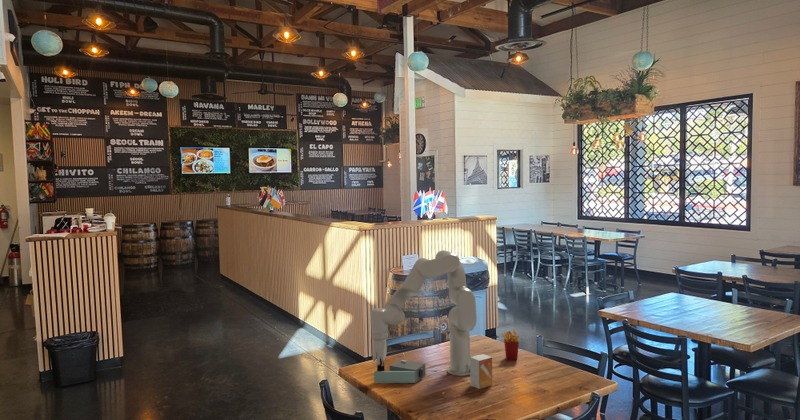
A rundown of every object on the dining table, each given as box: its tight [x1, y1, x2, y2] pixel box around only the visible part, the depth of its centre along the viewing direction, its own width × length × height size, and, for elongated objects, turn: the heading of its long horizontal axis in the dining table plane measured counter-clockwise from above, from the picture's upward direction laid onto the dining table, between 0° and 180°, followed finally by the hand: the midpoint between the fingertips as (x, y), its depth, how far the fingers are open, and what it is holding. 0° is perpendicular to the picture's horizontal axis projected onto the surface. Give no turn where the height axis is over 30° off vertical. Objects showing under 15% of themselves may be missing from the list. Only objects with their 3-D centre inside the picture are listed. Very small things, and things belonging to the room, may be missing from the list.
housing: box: [389, 358, 427, 384], centre depth 248 cm, size 15×10×7 cm, turn 61°
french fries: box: [501, 329, 520, 362], centre depth 271 cm, size 9×8×15 cm
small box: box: [469, 353, 493, 390], centre depth 236 cm, size 8×6×13 cm
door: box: [373, 370, 417, 384], centre depth 241 cm, size 20×1×5 cm, turn 86°
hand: (381, 373), depth 244 cm, fingers closed
